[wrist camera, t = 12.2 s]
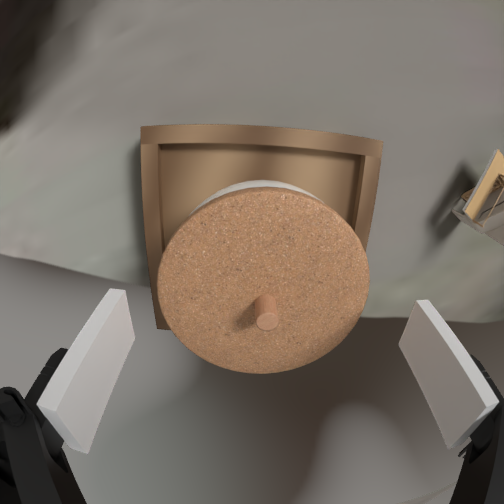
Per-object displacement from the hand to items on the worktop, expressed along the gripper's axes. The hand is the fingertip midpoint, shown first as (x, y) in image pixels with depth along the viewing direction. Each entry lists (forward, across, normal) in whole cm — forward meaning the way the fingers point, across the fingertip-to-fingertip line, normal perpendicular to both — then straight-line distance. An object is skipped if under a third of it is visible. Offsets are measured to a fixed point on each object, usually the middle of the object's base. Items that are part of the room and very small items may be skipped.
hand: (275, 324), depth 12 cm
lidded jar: (+10, 0, 0) cm, 10 cm away
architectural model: (+13, -19, -5) cm, 24 cm away
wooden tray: (+12, +1, 0) cm, 12 cm away
